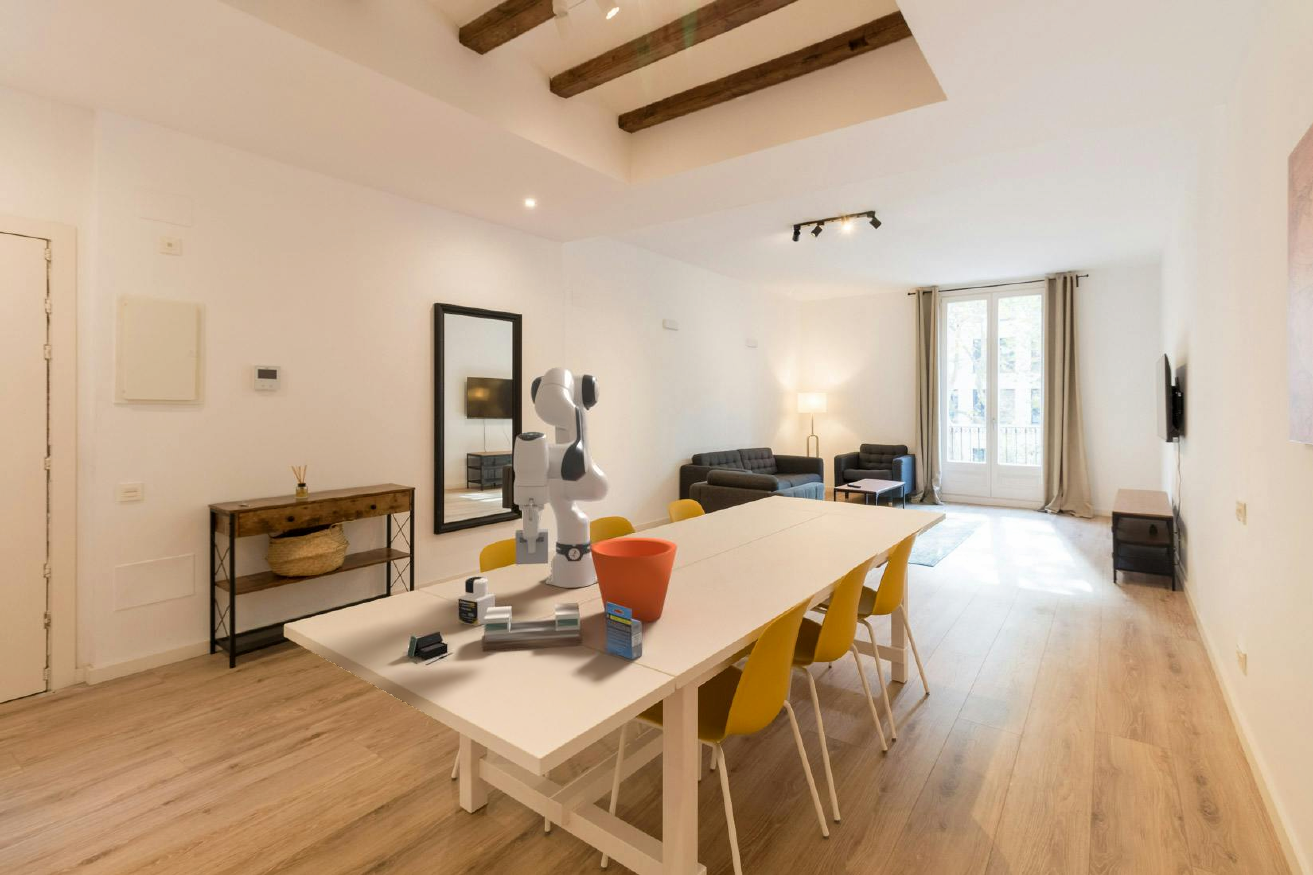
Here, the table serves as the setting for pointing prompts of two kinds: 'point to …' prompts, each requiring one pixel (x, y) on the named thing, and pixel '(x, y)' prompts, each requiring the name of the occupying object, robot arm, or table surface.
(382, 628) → the table surface
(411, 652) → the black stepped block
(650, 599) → the flowerpot
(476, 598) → the medicine bottle
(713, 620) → the table surface
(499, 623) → the rail board
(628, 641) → the label tape box
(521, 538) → the block
